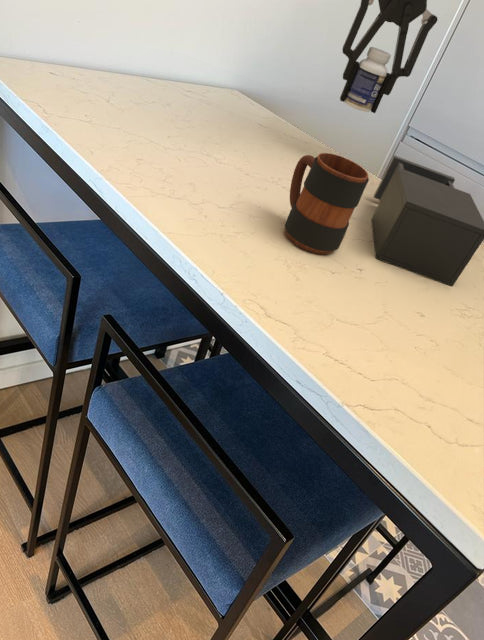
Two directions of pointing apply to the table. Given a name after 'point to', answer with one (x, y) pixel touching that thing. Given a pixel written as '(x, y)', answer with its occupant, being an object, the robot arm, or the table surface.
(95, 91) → the table surface
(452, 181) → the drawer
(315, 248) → the mug
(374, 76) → the pill bottle
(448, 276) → the charcoal bevelled cube
